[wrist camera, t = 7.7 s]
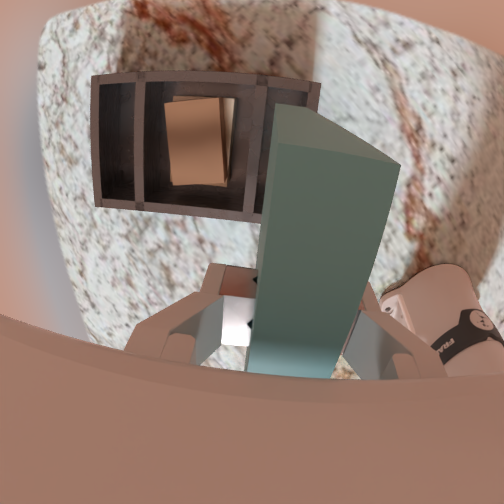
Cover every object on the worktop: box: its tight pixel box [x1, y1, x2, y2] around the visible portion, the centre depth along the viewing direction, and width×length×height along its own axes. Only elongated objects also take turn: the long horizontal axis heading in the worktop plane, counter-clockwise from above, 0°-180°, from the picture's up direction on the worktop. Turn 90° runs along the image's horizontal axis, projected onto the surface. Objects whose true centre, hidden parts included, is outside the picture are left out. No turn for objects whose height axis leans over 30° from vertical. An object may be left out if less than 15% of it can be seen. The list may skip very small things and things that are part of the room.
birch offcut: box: [170, 95, 237, 187], centre depth 31 cm, size 9×6×2 cm, turn 174°
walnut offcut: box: [164, 97, 228, 185], centre depth 28 cm, size 8×5×2 cm, turn 2°
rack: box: [90, 71, 321, 224], centre depth 30 cm, size 14×22×6 cm, turn 84°
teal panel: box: [244, 103, 401, 379], centre depth 14 cm, size 10×2×16 cm, turn 174°
